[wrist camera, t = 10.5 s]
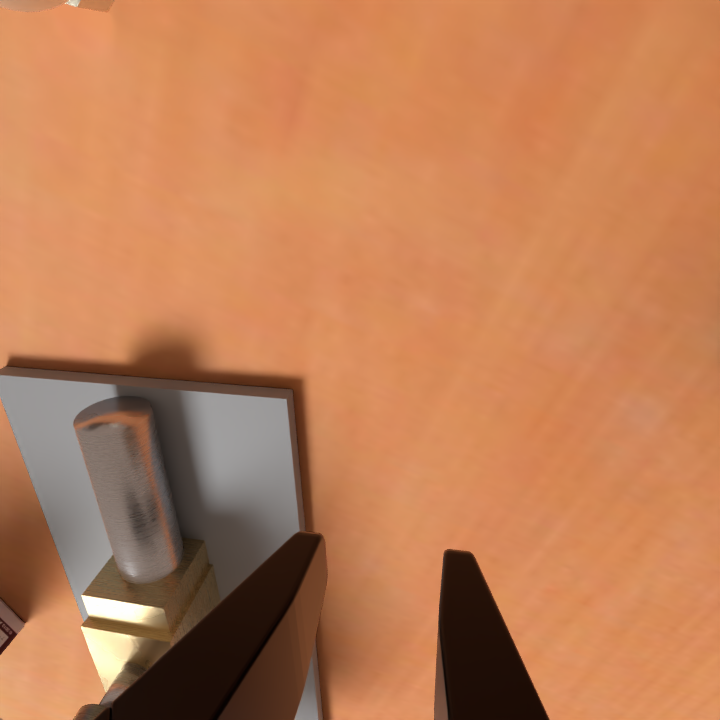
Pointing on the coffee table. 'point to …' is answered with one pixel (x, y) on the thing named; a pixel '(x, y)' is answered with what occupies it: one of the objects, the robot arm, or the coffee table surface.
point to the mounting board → (170, 472)
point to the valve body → (137, 547)
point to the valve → (54, 4)
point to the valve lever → (89, 712)
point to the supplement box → (8, 626)
